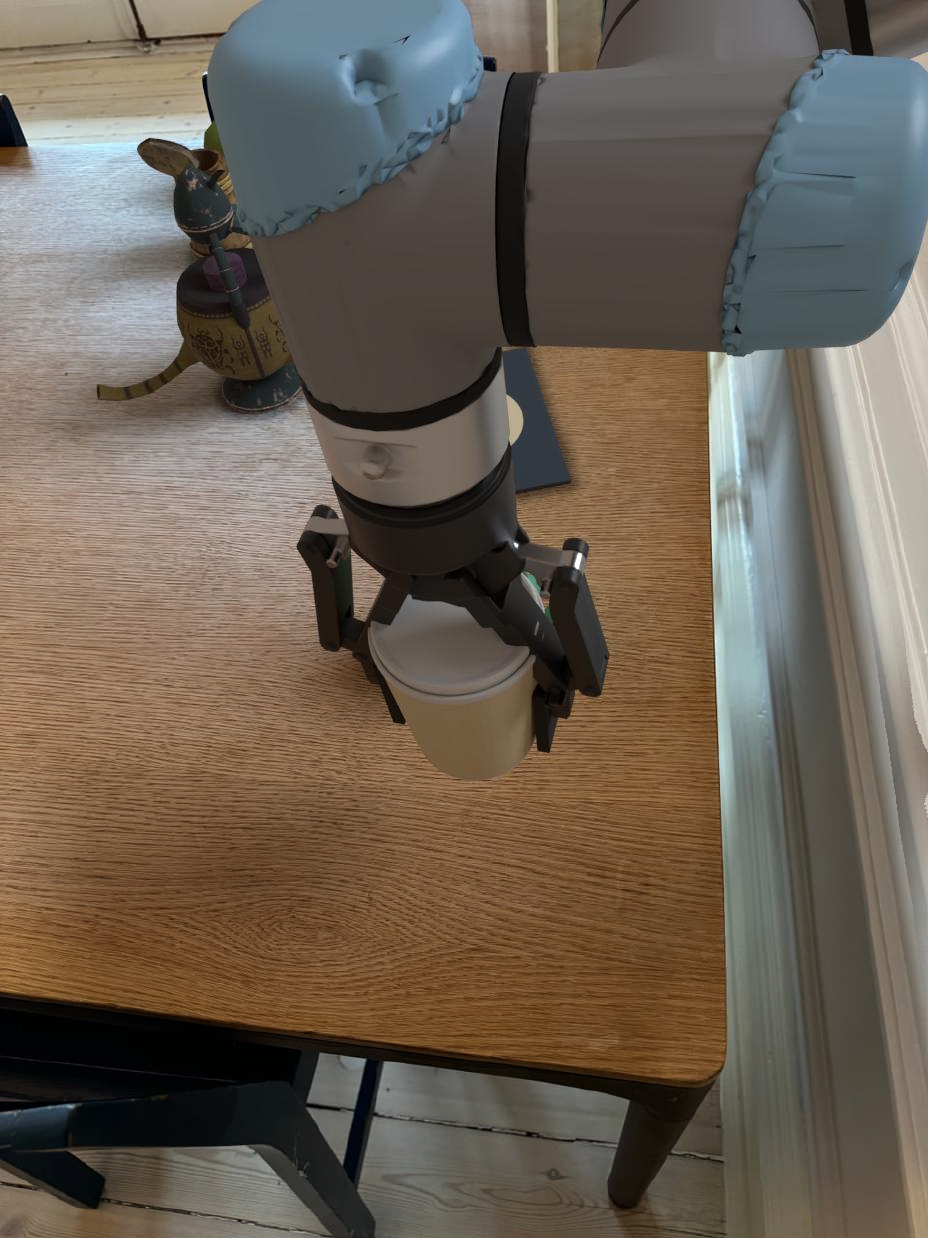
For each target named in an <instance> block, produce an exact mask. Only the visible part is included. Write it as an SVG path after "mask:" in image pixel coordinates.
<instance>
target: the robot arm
mask: <svg viewBox="0 0 928 1238" xmlns="http://www.w3.org/2000/svg"><path fill="white" fill-rule="evenodd" d="M599 25H600V33H601V39H600V40H601V41H600V49H599V54H598V56H597V57H598V58H597V61H596V66H595V69H585V70H584V69H583V70H571V71H570V70H568V71H554V72H542V71H526V72H525V71H522V72H518V71H517V70H516V71H515V70H514V71H513V70H512V71H490V70H485V69H484V68H485V67H484V55H483V53H482V52H481V50H480V49H479V47H478V45H477V44H476V43H475V36H474V30H473V23H472V18H471V15H470V12H469V11H468V8H467V7H466V5H465V4H464V2H463V1H462V0H260V1H259V2H257V3H255V4H254V5H252V6H251V7H249V8H248V9H246V10H244V11H243V12H241V14H240V15H238V16H237V17H236V18H235V19H234V20H233V21H232V22H231V23H230V25H229V26H228V28H227V31H226V33H224V34H223V35H221V37H220V38H219V39H218V40H217V42H216V43H215V44H214V47H213V49H212V53H211V55H210V59H209V61H208V65H207V71H206V73H207V74H206V84H207V96H208V100H209V103H210V107H211V111H212V115H213V118H214V119H213V120H215V122H216V126H217V130H218V133H219V137H220V141H221V145H222V148H223V152H224V156H225V159H226V163H227V167H228V170H229V174H230V178H231V181H232V185H233V189H234V192H235V196H236V200H237V203H236V206H237V211H236V216H237V218H238V221H239V223H240V226H241V227H242V228H243V231H244V232H248V234H249V237H250V240H251V243H252V245H253V248H254V251H255V254H256V257H257V259H258V262H259V265H260V268H261V271H262V273H263V276H264V279H265V282H266V285H267V287H268V290H269V293H270V296H271V299H272V302H273V304H274V307H275V310H276V313H277V316H278V318H279V321H280V324H281V327H282V330H283V332H284V335H285V338H286V341H287V344H288V346H289V349H290V352H291V355H292V358H293V361H294V363H295V370H296V373H297V376H298V380H299V382H300V384H301V390H302V392H301V393H302V395H303V399H304V402H305V405H306V407H307V411H308V414H309V417H310V419H311V422H312V426H313V428H314V431H315V434H316V438H317V440H318V445H319V446H320V449H321V453H322V456H323V458H324V461H325V464H326V467H327V470H328V471H329V473H330V476H331V484H332V486H333V490H334V493H335V497H336V499H337V502H338V506H339V508H340V512H341V514H342V518H340V516H339V515H338V513H337V512H336V511H335V510H334V509H333V508H332V507H331V506H328V505H325V504H318V505H316V506H314V509H313V510H312V513H311V515H310V516H309V519H308V521H307V522H306V524H305V527H304V529H303V531H302V533H301V535H300V537H299V539H298V541H297V544H296V550H297V552H298V553H299V555H300V557H301V558H302V560H303V562H304V563H305V565H306V566H307V568H308V570H309V571H310V577H311V583H312V592H313V593H312V594H313V600H314V609H315V617H316V625H317V633H318V634H317V635H318V641H319V645H320V646H321V647H322V649H324V650H325V651H328V652H330V653H331V652H332V653H337V652H340V650H341V648H342V649H345V650H348V651H350V652H351V656H352V658H353V659H355V661H358V662H359V663H360V666H361V668H362V670H363V673H364V676H365V678H366V680H367V681H368V682H369V683H370V684H371V685H376V686H379V688H380V691H381V693H382V696H383V699H384V702H385V705H386V706H387V710H388V713H389V714H390V718H391V721H392V723H393V724H397V725H404V726H405V724H406V723H407V722H406V720H405V718H404V716H403V714H402V712H401V710H400V708H399V706H398V704H397V702H396V700H395V698H394V696H393V694H392V692H391V690H390V688H389V686H388V684H387V682H386V680H385V677H384V676H383V675H382V673H381V672H380V670H379V669H378V667H377V666H376V664H375V662H374V660H373V657H372V654H371V651H370V647H369V642H368V628H369V627H370V628H371V621H376V622H378V623H380V624H384V625H390V626H391V624H392V622H393V620H394V618H395V616H396V614H398V612H399V611H400V609H401V607H402V605H403V603H404V601H405V599H406V597H407V595H408V594H409V595H411V597H412V599H413V600H419V601H426V602H445V603H448V604H451V605H454V606H458V607H464V608H466V609H467V611H468V612H469V613H470V614H471V615H472V617H473V618H474V619H475V620H476V621H477V622H478V624H479V625H480V626H481V627H482V628H492V629H493V630H494V631H495V632H496V633H497V635H498V636H499V637H500V638H501V639H502V641H503V642H504V643H505V644H506V645H511V646H527V647H528V648H529V650H530V651H529V656H530V655H535V662H534V663H533V665H532V666H533V677H534V678H535V680H536V681H537V682H538V684H537V686H536V688H535V690H534V692H533V695H532V700H533V711H534V721H535V732H536V739H535V741H536V742H535V743H536V751H537V752H541V753H546V754H551V750H552V745H553V741H554V737H555V733H556V728H557V725H558V721H559V719H563V720H568V719H569V718H570V716H571V713H572V709H573V705H574V702H575V701H574V700H575V697H576V691H577V690H578V691H579V693H580V694H582V695H583V696H585V697H587V698H598V697H600V696H601V695H602V693H603V687H604V684H605V679H606V674H607V669H608V664H609V659H610V651H609V647H608V645H607V641H606V638H605V635H604V632H603V629H602V626H601V623H600V619H599V615H598V612H597V609H596V606H595V602H594V599H593V596H592V592H591V589H590V587H589V583H588V580H587V576H586V573H585V568H586V565H587V560H588V557H589V552H590V545H589V544H588V542H587V541H585V540H584V539H582V538H579V537H569V538H567V539H565V540H564V541H563V543H562V547H561V549H559V548H555V547H551V546H547V545H542V544H540V543H539V544H538V543H534V542H531V539H530V536H529V535H528V533H527V532H526V531H525V529H524V528H523V527H522V525H521V524H520V522H519V519H518V509H517V506H518V505H517V495H516V494H517V493H515V483H514V473H513V462H512V452H511V445H510V441H509V436H510V427H509V417H508V407H507V397H506V388H505V378H504V368H503V358H502V352H503V348H512V347H514V348H524V347H526V348H533V349H536V348H538V347H556V348H557V347H558V348H559V347H561V348H593V349H626V350H627V349H628V350H657V351H679V352H701V353H702V352H703V353H726V355H727V356H732V357H734V358H735V357H737V358H739V357H740V358H744V357H746V356H747V355H751V354H753V353H754V352H757V351H758V352H759V351H777V350H779V351H781V350H798V349H799V350H802V349H803V350H805V349H827V348H828V349H829V348H847V347H851V346H856V345H857V344H858V345H859V344H860V343H861V342H864V341H865V340H866V341H867V339H869V338H871V337H872V336H874V335H875V333H877V332H878V331H879V330H880V329H882V328H883V327H884V325H885V324H886V322H887V321H888V320H889V319H890V318H891V316H892V315H893V314H894V312H895V310H896V309H897V308H898V305H899V303H900V302H901V300H902V297H903V296H904V294H905V291H906V289H907V287H908V284H909V281H910V279H911V277H912V274H913V271H914V269H915V265H916V263H917V260H918V257H919V254H920V250H921V246H922V242H923V239H924V237H925V231H926V228H927V224H928V70H926V68H925V67H923V65H921V63H920V62H918V61H915V60H913V59H914V58H916V57H919V56H921V55H924V54H926V53H928V0H602V14H601V20H600V23H599ZM352 551H353V552H354V553H355V554H356V555H357V556H358V557H359V558H360V559H362V560H363V562H364V563H366V564H368V565H369V566H370V567H371V568H373V569H374V571H377V573H379V574H380V576H382V577H383V578H384V579H383V581H382V583H381V586H380V587H379V590H378V592H377V594H376V596H375V598H374V601H373V603H372V605H371V607H370V608H369V611H368V613H367V616H366V618H365V620H361V619H358V618H356V617H355V603H354V583H353V564H352V563H353V561H352ZM523 571H526V573H527V574H529V575H530V574H532V575H533V576H534V577H535V579H536V583H537V585H538V586H539V587H540V588H541V590H540V594H539V595H540V597H541V599H543V600H547V601H548V606H549V612H550V615H551V618H552V621H553V624H554V625H553V624H552V623H551V621H550V620H549V619H548V617H547V616H546V615H545V613H544V612H543V611H542V609H541V608H540V607H539V605H538V604H537V603H536V602H535V600H534V599H533V598H532V596H531V595H530V594H529V592H528V591H527V590H526V588H525V587H524V586H523V584H522V577H521V573H522V572H523ZM537 622H539V627H538V631H537V634H536V636H535V635H534V633H535V628H536V625H537ZM543 634H544V636H543ZM542 637H543V639H542Z"/></svg>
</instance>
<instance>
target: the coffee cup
mask: <svg viewBox="0 0 928 1238" xmlns="http://www.w3.org/2000/svg"><path fill="white" fill-rule="evenodd" d="M521 577H522V584H523V586H524V587H525V588H526V590H527V591H528V592H529V594H530V595H531V596H532V598H533V599H534V600H535V602H536V603H537V604H538V605H539V607H540V608H541V609H542V611H543V612H544V613H545V607H544V604H543V603H544V602H543V601H542V598H541V597H540V595H539V593H538V591H537V590H536V588H535V587H534V585H533V584H532V583H531V582H530V580H529V579H528V578H527V577H526V576H525V575H524V574H523V573H521ZM538 627H539V622H537V625H536V628H535V633H534V635H535V636H536V634H537V631H538ZM543 636H544V634H543ZM542 639H543V637H542ZM368 642H369V647H370V651H371V654H372V657H373V660H374V662H375V664H376V666H377V667H378V669H379V670H380V672H381V673H382V675H383V676H384V677H385V680H386V682H387V684H388V686H389V688H390V690H391V692H392V694H393V696H394V698H395V700H396V702H397V704H398V706H399V708H400V710H401V712H402V714H403V716H404V718H405V720H406V722H405V723H406V724H407V726H408V728H409V730H410V732H411V734H412V736H413V738H414V740H415V742H416V743H417V745H418V747H419V749H420V751H421V752H422V754H423V755H424V757H425V759H426V760H427V761H428V762H429V763H430V764H431V765H432V766H433V767H434V768H436V769H437V770H438V771H440V772H441V773H443V774H445V775H447V776H449V777H452V778H455V779H458V780H464V781H469V782H470V781H472V782H480V781H487V780H492V779H495V778H498V777H501V776H503V775H506V774H507V773H509V772H510V771H512V770H513V769H515V768H516V767H517V766H518V765H520V764H521V763H522V762H523V761H524V760H525V758H527V756H528V754H529V753H530V751H531V750H532V748H533V746H534V744H535V741H536V732H535V721H534V711H533V700H532V695H533V692H534V690H535V688H536V686H537V684H538V682H537V681H536V680H535V678H534V677H533V666H532V665H533V663H534V662H535V655H530V656H529V651H530V650H529V648H528V647H527V646H511V645H506V644H505V643H504V642H503V641H502V639H501V638H500V637H499V636H498V635H497V633H496V632H495V631H494V630H493V629H492V628H482V627H481V626H480V625H479V624H478V622H477V621H476V620H475V619H474V618H473V617H472V615H471V614H470V613H469V612H468V611H467V609H466V608H464V607H458V606H454V605H451V604H448V603H445V602H426V601H419V600H413V599H412V597H411V595H409V594H408V595H407V597H406V599H405V601H404V603H403V605H402V607H401V609H400V611H399V612H398V614H396V616H395V618H394V620H393V622H392V624H391V626H390V625H384V624H380V623H378V622H376V621H371V628H370V627H369V628H368Z"/></svg>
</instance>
